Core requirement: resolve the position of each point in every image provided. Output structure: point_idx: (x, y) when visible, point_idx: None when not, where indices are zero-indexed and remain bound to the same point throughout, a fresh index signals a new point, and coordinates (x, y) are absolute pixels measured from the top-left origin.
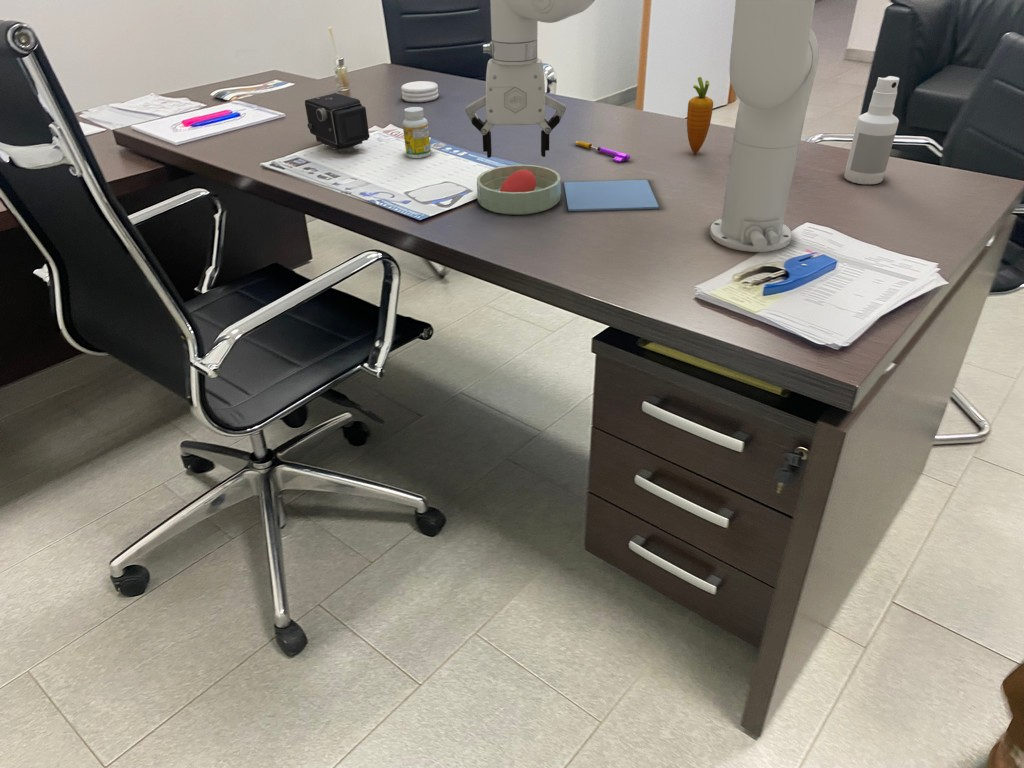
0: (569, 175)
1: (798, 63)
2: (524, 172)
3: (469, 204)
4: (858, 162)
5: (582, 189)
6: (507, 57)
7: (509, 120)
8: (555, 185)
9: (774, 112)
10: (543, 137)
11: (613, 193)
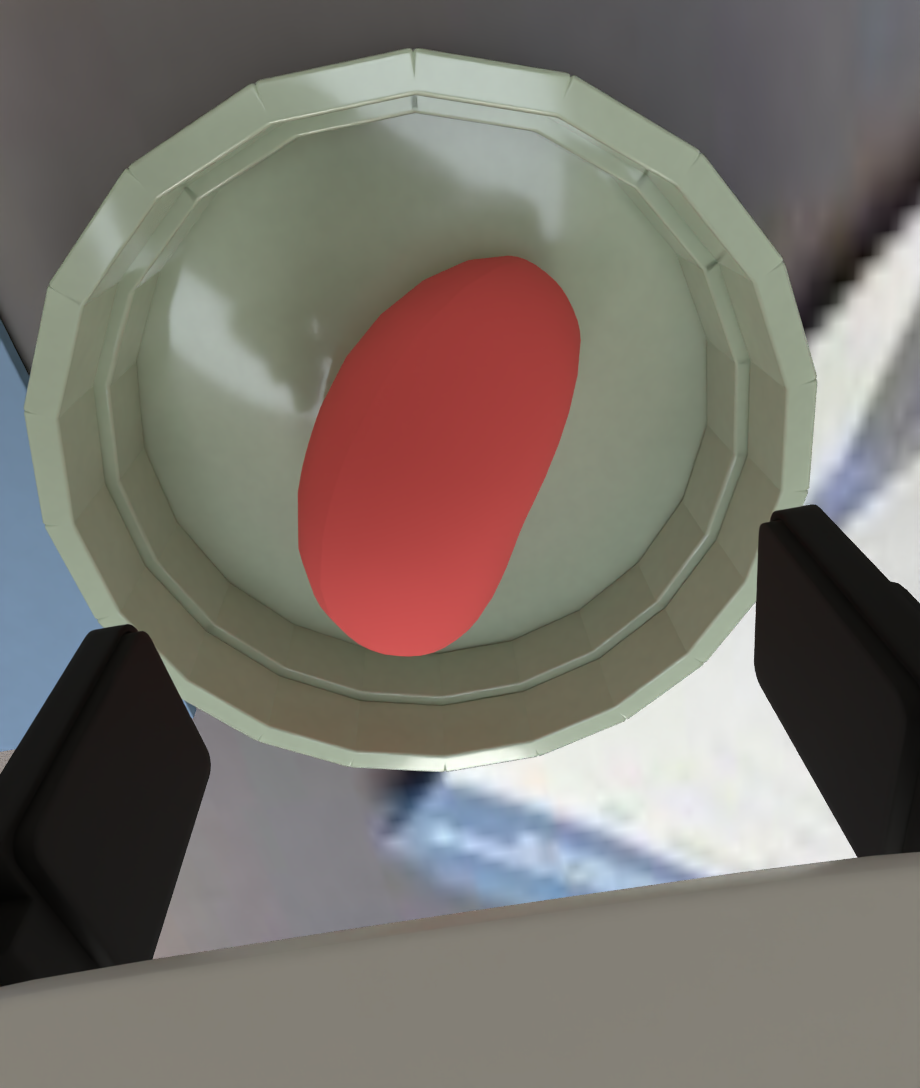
0: (210, 819)
1: None
2: (374, 535)
3: (805, 289)
4: None
5: (20, 625)
6: None
7: (615, 1001)
8: (30, 381)
9: None
10: (5, 810)
11: None
